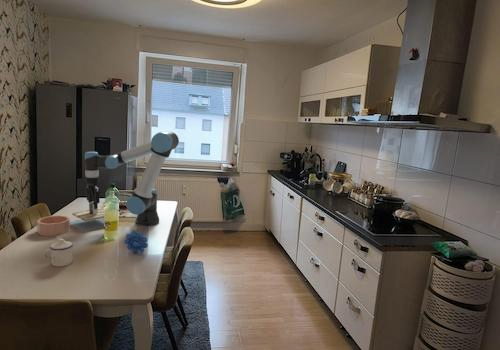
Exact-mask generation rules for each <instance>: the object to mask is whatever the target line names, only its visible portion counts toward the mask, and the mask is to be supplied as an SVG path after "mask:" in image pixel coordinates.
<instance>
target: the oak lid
mask: <svg viewBox="0 0 500 350" xmlns="http://www.w3.org/2000/svg"><path fill="white" fill-rule="evenodd" d="M89 210H90V212H89ZM105 210H106V209H104V208H101V207H98V213H97V214H93V204H89V203H88V210H82V211H81V210H80V211H78V212H72V216H74V217H75V218H78V219H79V220H84V221H90V220H95V219H100V218H104V216H105Z"/></svg>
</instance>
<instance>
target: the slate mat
mask: <svg viewBox="0 0 500 350" xmlns="http://www.w3.org/2000/svg"><path fill="white" fill-rule="evenodd" d="M70 226H72V227H74V228H76V229H78V230H79V231H81V232H82V233H85V232H88V231H93V230H97V229H102V228H105V227H104V220H103V218H100V219H95V220H90V221H84V220H82V219H79V220H74V221H70Z"/></svg>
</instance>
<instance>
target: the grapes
mask: <svg viewBox="0 0 500 350" xmlns="http://www.w3.org/2000/svg"><path fill="white" fill-rule="evenodd" d="M147 242H148V238H147V237H146V236H144V234H143V233H142V232H137V231H135V230H132V231H131V232H130V233H126V235H125V239H124V244H125V245H127V246H126V249H127V250H130V251H132V252H133V253H135V254H137V253H144V252H145V249H147V248H148V246H149V245H148V243H147Z"/></svg>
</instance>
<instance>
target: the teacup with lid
mask: <svg viewBox="0 0 500 350" xmlns="http://www.w3.org/2000/svg"><path fill="white" fill-rule="evenodd" d="M47 252H50V254H51V255H50V257H48V256H47V255H46V253H47ZM42 255H43V258H44V259H45V260H51V265H52V266H54V267H59V268H60V267H66V266H68V265H70V264H72V263H73V243H72V241H68V240H65V239H63V238H59V239H58V241H56V242H53V243H52V244H51V245H50V247H49V248H48V249H45V250H44V251H43V253H42Z"/></svg>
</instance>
